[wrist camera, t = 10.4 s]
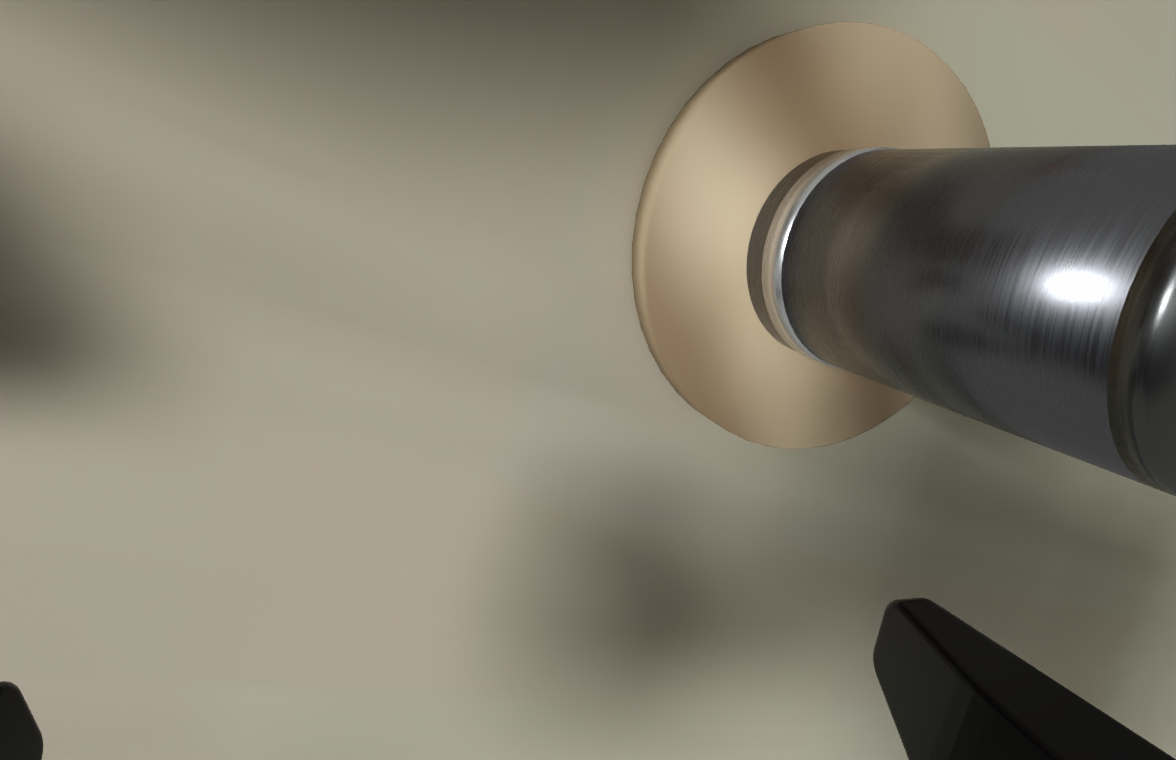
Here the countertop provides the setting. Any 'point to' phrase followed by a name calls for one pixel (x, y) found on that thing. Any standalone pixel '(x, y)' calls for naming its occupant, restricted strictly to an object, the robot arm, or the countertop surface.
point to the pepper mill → (990, 287)
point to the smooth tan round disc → (734, 199)
